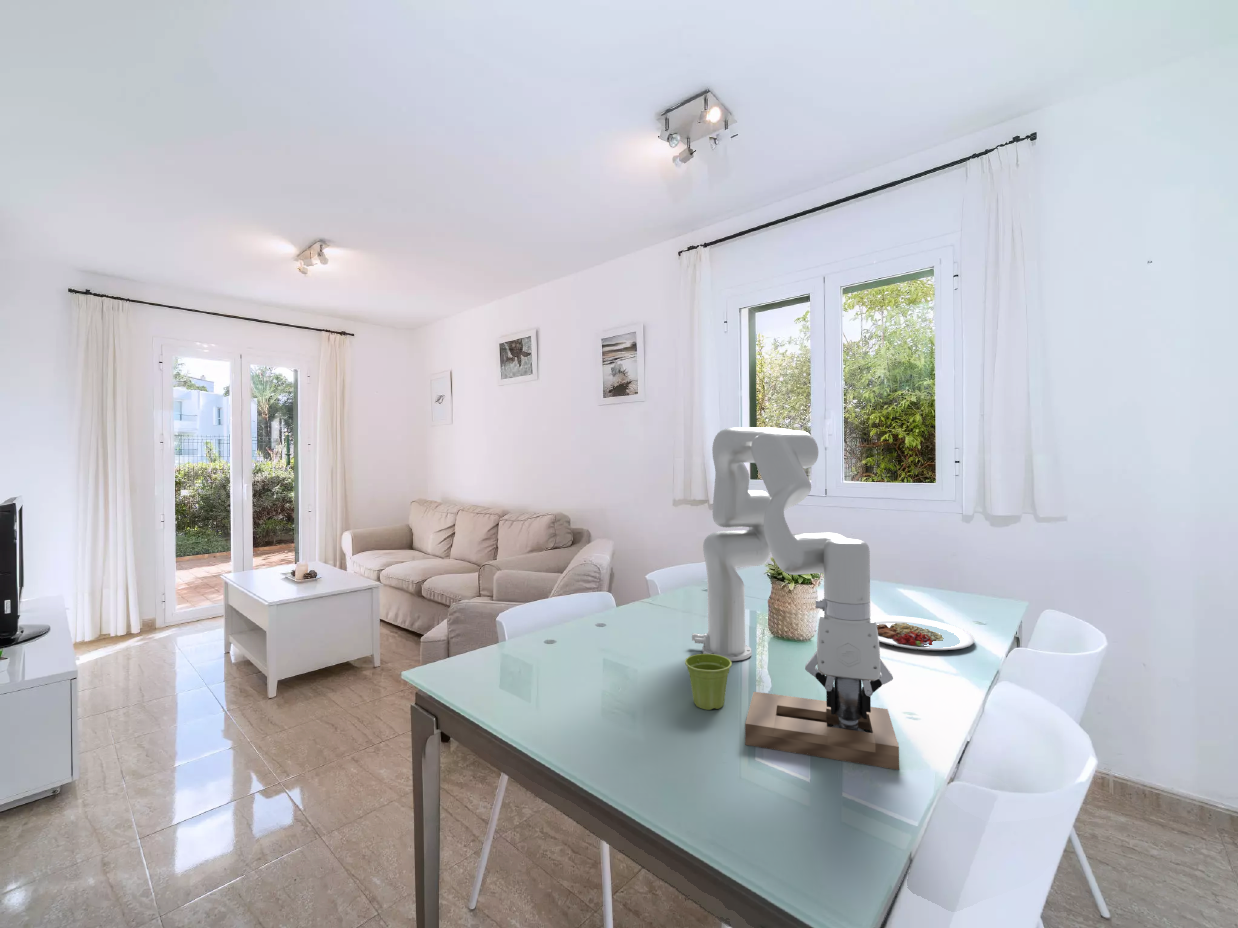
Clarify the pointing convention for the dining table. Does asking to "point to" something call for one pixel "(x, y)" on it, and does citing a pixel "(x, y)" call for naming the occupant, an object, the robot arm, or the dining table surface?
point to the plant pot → (708, 679)
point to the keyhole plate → (819, 731)
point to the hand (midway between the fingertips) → (848, 712)
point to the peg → (848, 703)
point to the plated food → (917, 633)
